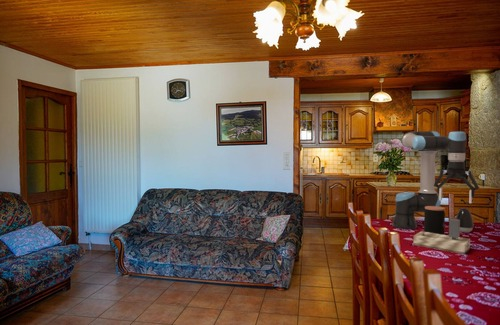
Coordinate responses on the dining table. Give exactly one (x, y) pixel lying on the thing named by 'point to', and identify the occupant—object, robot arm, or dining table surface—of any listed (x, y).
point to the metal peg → (454, 228)
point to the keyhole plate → (442, 242)
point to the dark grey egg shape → (465, 220)
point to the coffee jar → (434, 220)
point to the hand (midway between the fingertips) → (455, 201)
